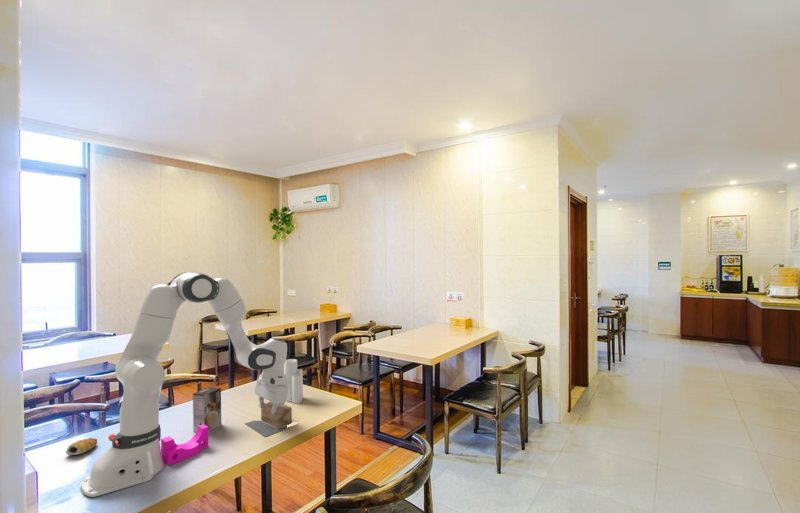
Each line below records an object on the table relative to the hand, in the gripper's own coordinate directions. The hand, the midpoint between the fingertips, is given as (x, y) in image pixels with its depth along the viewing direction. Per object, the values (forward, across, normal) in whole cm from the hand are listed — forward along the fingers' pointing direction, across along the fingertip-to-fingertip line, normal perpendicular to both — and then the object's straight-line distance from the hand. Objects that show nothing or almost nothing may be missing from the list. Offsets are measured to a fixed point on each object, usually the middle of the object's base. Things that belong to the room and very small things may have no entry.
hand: (267, 410), depth 164 cm
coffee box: (+10, -17, -16) cm, 25 cm away
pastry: (+18, -32, -51) cm, 62 cm away
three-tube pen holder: (+3, -16, +24) cm, 29 cm away
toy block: (+13, -1, -29) cm, 32 cm away
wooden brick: (+6, 0, +5) cm, 8 cm away
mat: (+5, 0, +10) cm, 12 cm away
